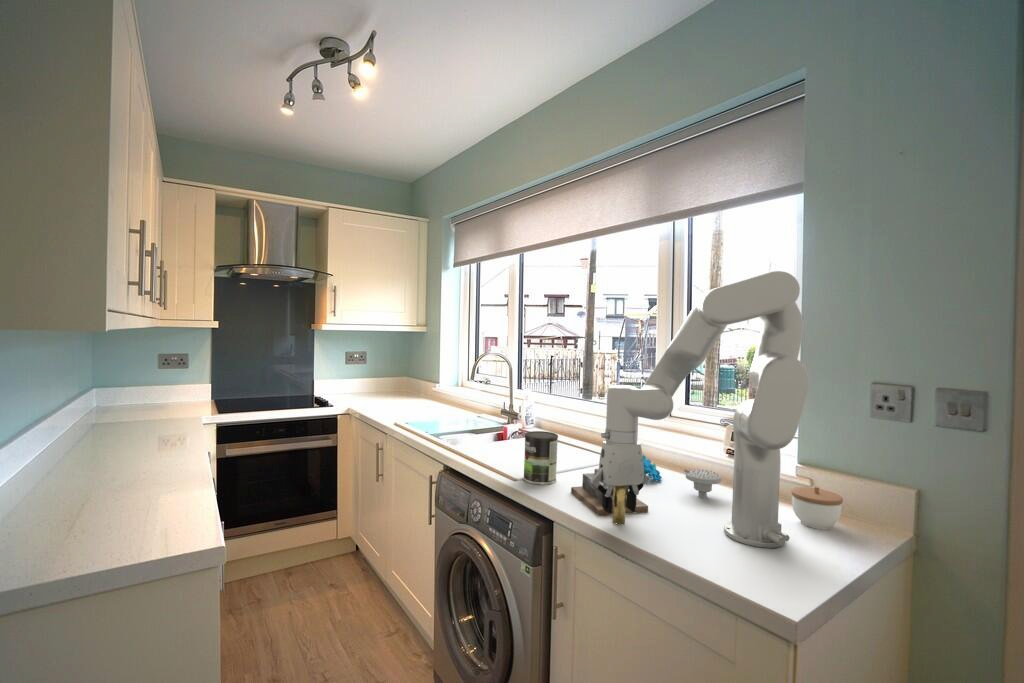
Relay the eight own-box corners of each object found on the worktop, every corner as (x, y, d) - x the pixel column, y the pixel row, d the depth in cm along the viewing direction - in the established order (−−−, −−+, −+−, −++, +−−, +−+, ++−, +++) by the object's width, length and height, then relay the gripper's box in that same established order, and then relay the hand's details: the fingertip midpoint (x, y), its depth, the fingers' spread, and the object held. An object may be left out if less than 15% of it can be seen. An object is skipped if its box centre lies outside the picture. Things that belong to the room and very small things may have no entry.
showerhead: (683, 464, 146) (719, 468, 143) (682, 488, 146) (718, 493, 143) (683, 473, 137) (722, 477, 134) (682, 498, 137) (721, 503, 134)
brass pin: (627, 524, 118) (628, 483, 117) (616, 525, 117) (617, 483, 117) (621, 519, 121) (622, 479, 120) (610, 520, 120) (611, 479, 120)
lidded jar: (780, 518, 125) (781, 481, 125) (814, 515, 127) (816, 479, 127) (816, 535, 114) (817, 495, 114) (852, 531, 117) (854, 492, 117)
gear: (657, 481, 148) (636, 453, 152) (642, 492, 150) (622, 464, 154) (668, 477, 157) (648, 451, 161) (654, 488, 159) (634, 462, 163)
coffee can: (533, 486, 144) (535, 439, 144) (517, 476, 153) (518, 432, 153) (563, 482, 149) (564, 436, 149) (545, 473, 158) (546, 430, 158)
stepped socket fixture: (647, 511, 126) (648, 484, 126) (598, 515, 123) (599, 487, 123) (615, 489, 144) (616, 465, 144) (571, 492, 140) (571, 468, 140)
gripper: (595, 441, 112) (593, 519, 113) (661, 438, 117) (658, 513, 117) (582, 434, 120) (580, 507, 120) (644, 432, 124) (642, 503, 125)
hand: (619, 509), depth 119 cm, fingers open, 5 cm apart
